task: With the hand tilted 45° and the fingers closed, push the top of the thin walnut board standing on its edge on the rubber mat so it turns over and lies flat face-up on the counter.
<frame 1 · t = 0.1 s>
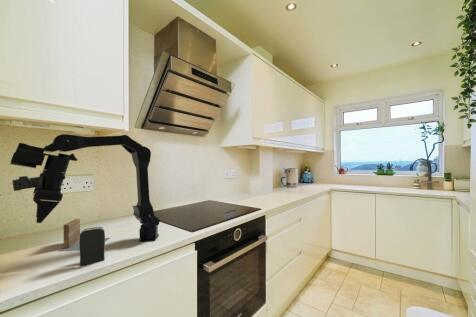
hand: (38, 219, 65), 15 cm above the table, tool pointing down, fingers open, 9 cm apart
board: (72, 244, 83), resting on mat
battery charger: (92, 262, 68), on the table
mat: (85, 245, 83), on the table
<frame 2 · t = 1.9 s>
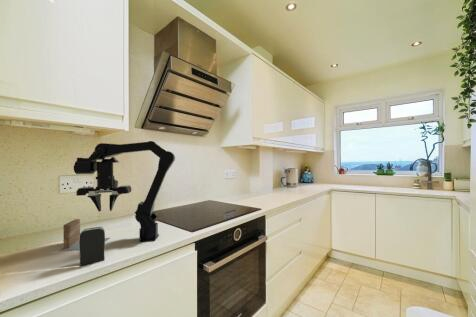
hand: (105, 211, 86), 13 cm above the table, tool pointing down, fingers open, 4 cm apart
nothing on the table moved.
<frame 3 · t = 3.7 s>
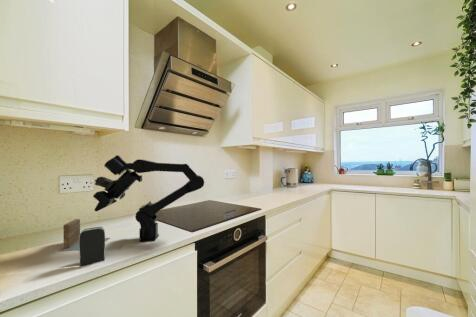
hand: (95, 210, 85), 13 cm above the table, tool tilted 45°, fingers closed
nothing on the table moved.
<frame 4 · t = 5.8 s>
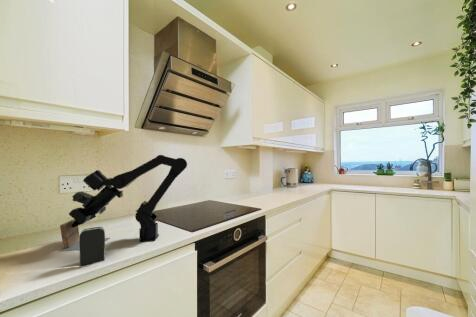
hand: (72, 226, 83), 7 cm above the table, tool tilted 45°, fingers closed, pressing on board
board: (72, 243, 83), point 1 cm above the table, tilted 7°, touching gripper, mat
everything else where it was.
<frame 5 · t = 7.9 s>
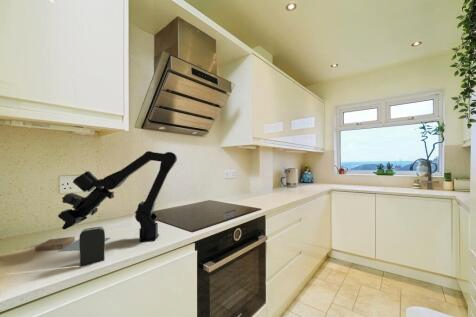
hand: (63, 228, 82), 7 cm above the table, tool tilted 45°, fingers closed
board: (69, 242, 83), point 1 cm above the table, tilted 92°, touching mat
everything else where it was.
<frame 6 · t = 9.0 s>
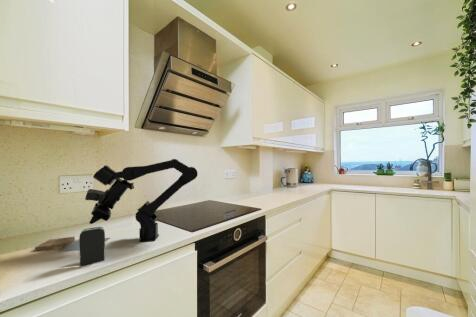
hand: (90, 223, 84), 8 cm above the table, tool tilted 35°, fingers closed
nothing on the table moved.
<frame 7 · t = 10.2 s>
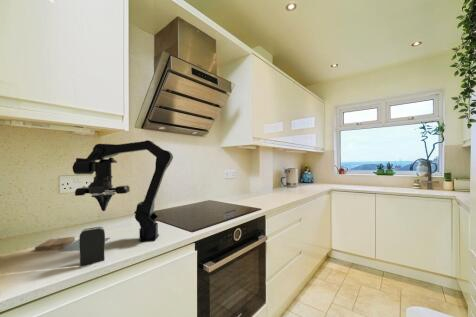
hand: (103, 210, 86), 13 cm above the table, tool pointing down, fingers closed
nothing on the table moved.
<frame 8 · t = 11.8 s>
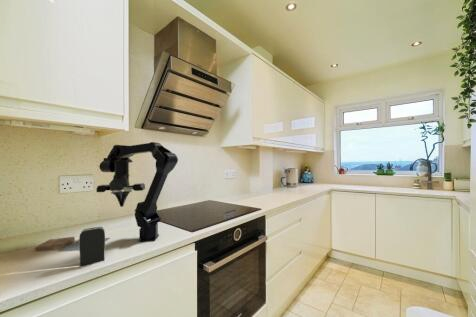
hand: (121, 206, 94), 13 cm above the table, tool pointing down, fingers closed
nothing on the table moved.
at the end: board tilted 92°; board inside the target area (4.4 cm from its centre), point 1.3 cm above the table; the gripper is holding nothing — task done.
